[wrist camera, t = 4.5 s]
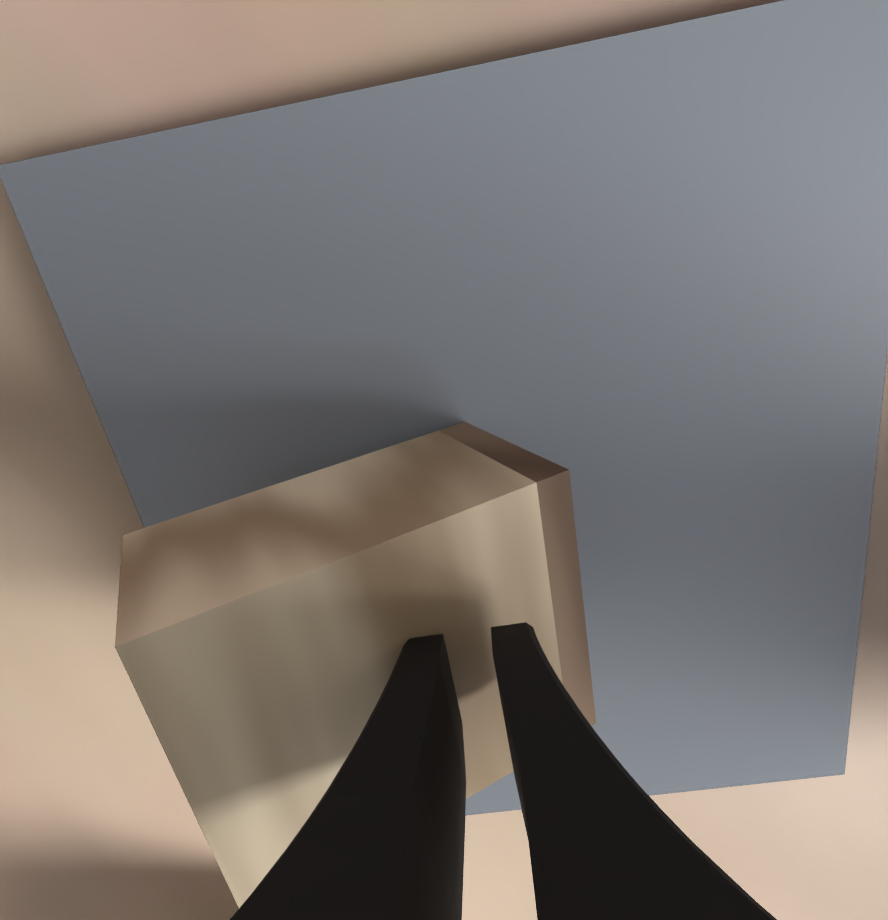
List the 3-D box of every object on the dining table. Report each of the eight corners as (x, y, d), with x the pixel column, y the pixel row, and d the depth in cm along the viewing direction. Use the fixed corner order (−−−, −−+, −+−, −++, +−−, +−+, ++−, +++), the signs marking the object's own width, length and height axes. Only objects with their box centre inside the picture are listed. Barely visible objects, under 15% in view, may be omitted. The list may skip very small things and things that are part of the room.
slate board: (888, -11, 12) (925, -30, 11) (825, 747, 19) (844, 774, 18) (27, 169, 13) (-5, 165, 12) (279, 808, 21) (271, 836, 20)
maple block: (569, 469, 11) (114, 646, 8) (596, 722, 13) (247, 925, 10) (464, 421, 14) (122, 534, 12) (500, 628, 16) (220, 762, 14)
